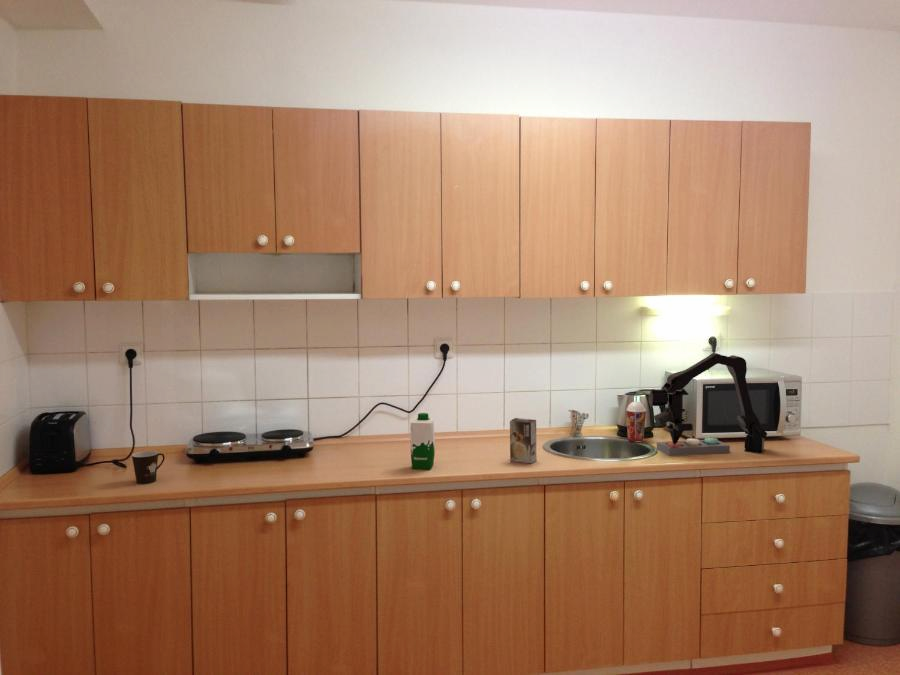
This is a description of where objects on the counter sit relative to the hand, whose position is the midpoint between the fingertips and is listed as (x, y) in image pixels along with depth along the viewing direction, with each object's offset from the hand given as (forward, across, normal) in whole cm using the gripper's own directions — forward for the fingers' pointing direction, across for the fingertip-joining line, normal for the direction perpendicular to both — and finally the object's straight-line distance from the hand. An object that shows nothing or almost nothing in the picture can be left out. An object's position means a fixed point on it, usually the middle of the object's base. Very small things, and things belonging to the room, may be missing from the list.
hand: (674, 443), depth 286 cm
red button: (+2, 0, 0) cm, 2 cm away
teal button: (+1, 0, +16) cm, 16 cm away
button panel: (+3, 0, +8) cm, 9 cm away
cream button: (+1, 0, +8) cm, 8 cm away
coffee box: (+4, +1, -64) cm, 64 cm away
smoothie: (+4, -21, -7) cm, 23 cm away
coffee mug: (+3, +3, -201) cm, 201 cm away
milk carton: (+4, +3, -103) cm, 104 cm away
